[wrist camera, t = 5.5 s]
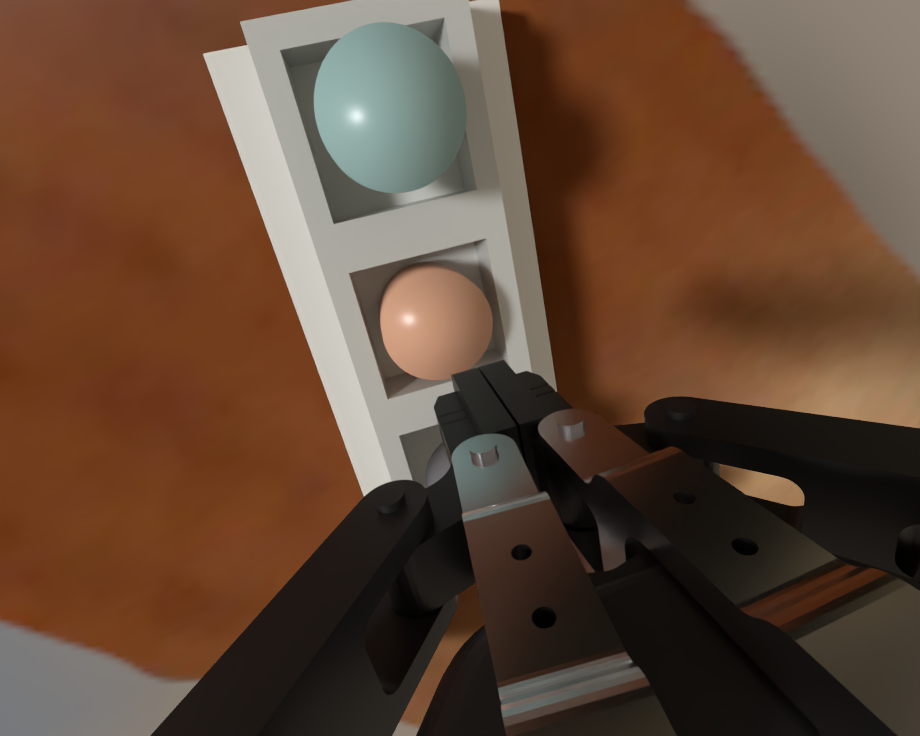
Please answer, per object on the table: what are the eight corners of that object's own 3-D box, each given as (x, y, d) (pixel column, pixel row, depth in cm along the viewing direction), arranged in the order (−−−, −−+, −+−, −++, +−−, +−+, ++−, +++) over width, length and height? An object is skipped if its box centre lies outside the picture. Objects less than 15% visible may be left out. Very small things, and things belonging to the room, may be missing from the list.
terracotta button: (366, 275, 22) (367, 288, 19) (465, 250, 22) (481, 258, 20) (393, 369, 24) (398, 392, 21) (485, 343, 24) (501, 363, 21)
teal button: (301, 63, 17) (290, 39, 14) (433, 37, 17) (448, 8, 14) (343, 205, 18) (341, 207, 16) (461, 177, 19) (479, 175, 16)
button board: (213, 63, 20) (179, 33, 16) (488, 8, 21) (517, -31, 17) (375, 514, 29) (378, 563, 25) (559, 457, 30) (588, 495, 26)
